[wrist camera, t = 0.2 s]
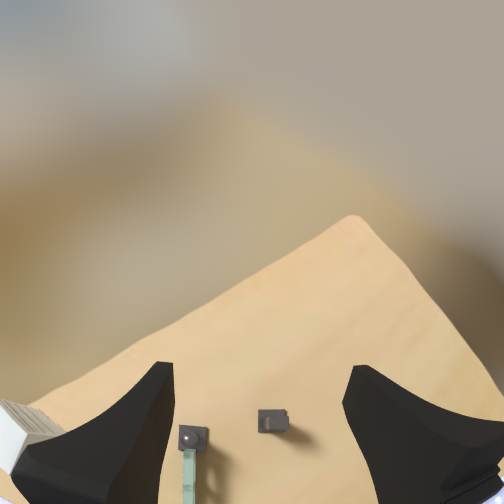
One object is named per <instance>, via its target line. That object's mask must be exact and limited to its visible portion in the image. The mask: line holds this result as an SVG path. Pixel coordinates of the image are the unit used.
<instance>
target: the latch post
mask: <svg viewBox="0 0 504 504" xmlns="http://www.w3.org/2000/svg"><path fill="white" fill-rule="evenodd" d="M285 429H289V416H288V417H285V409H284V410H258V432H283V431H285Z"/></svg>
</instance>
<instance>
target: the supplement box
mask: <svg viewBox="0 0 504 504" xmlns="http://www.w3.org/2000/svg"><path fill="white" fill-rule="evenodd" d="M65 433H67V432H65V431H64V430H63V429H62V428H60V427H59V426H58V425H57V424H56V423H54V422H53V421H52V420H51V419H50V418H49V417H47V416H46V415H45V414H44V413H43V412H42V411H41V410H39V409H35V408H32V407H28V406H24V405H20V404H17V403H13V402H10V401H6V400H3V399H0V467H1V468H2V469H3V470H4V471H5V472H6V473H7V474H8V475H9V476H11V473H12V471H13V469H14V467H15V465H16V463H17V461H18V459H19V457H20V455H21V454H22V452H23V451H24V449H25V448H26V446H27V445H29V444H34V443H37V442H41V441H44V440H48V439H51V438H54V437H57V436H60V435H62V434H65Z"/></svg>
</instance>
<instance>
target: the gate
mask: <svg viewBox="0 0 504 504" xmlns="http://www.w3.org/2000/svg"><path fill="white" fill-rule="evenodd" d="M195 484H196V449H186V450H184V460H183V504H195Z"/></svg>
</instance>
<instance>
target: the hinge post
mask: <svg viewBox="0 0 504 504" xmlns="http://www.w3.org/2000/svg"><path fill="white" fill-rule="evenodd" d="M186 449H196V451H198V452H206V427H198V426H187V425H179V445H178V450H186Z"/></svg>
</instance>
